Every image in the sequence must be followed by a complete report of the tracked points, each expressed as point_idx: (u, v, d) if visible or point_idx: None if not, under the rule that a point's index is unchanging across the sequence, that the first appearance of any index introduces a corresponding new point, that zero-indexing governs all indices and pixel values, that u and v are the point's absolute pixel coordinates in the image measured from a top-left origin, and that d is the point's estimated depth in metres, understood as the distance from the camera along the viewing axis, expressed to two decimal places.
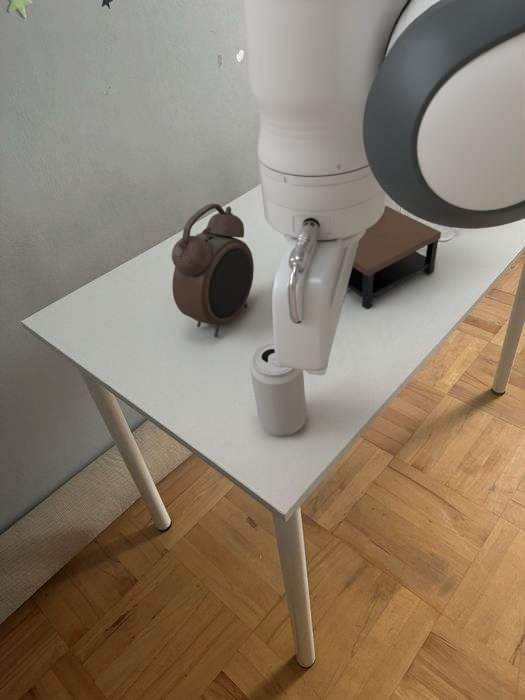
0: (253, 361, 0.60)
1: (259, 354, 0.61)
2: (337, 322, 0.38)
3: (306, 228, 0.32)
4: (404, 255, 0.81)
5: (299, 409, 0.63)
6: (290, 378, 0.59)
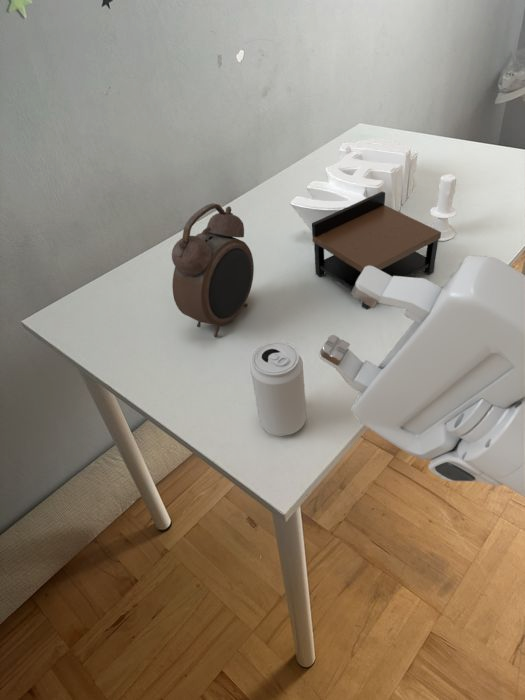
0: (253, 361, 0.60)
1: (259, 354, 0.61)
2: (428, 342, 0.30)
3: None
4: (404, 255, 0.81)
5: (300, 409, 0.63)
6: (290, 378, 0.59)
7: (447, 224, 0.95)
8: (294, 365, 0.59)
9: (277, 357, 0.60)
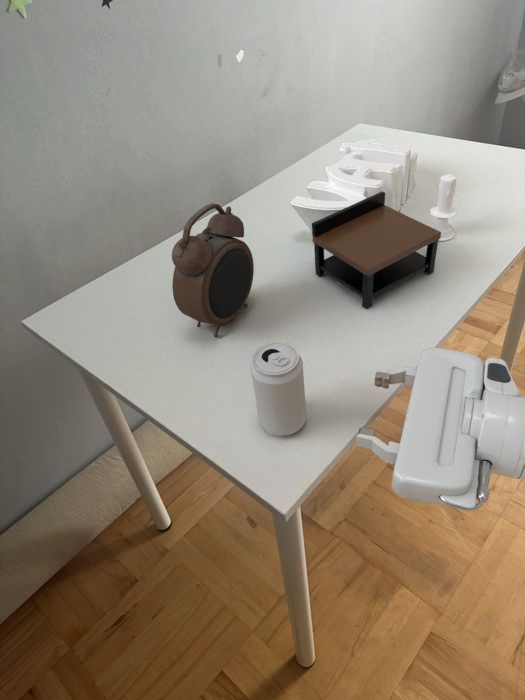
0: (253, 361, 0.60)
1: (259, 354, 0.61)
2: None
3: None
4: (404, 255, 0.81)
5: (300, 409, 0.63)
6: (290, 378, 0.59)
7: (447, 224, 0.95)
8: (294, 365, 0.59)
9: (277, 357, 0.60)
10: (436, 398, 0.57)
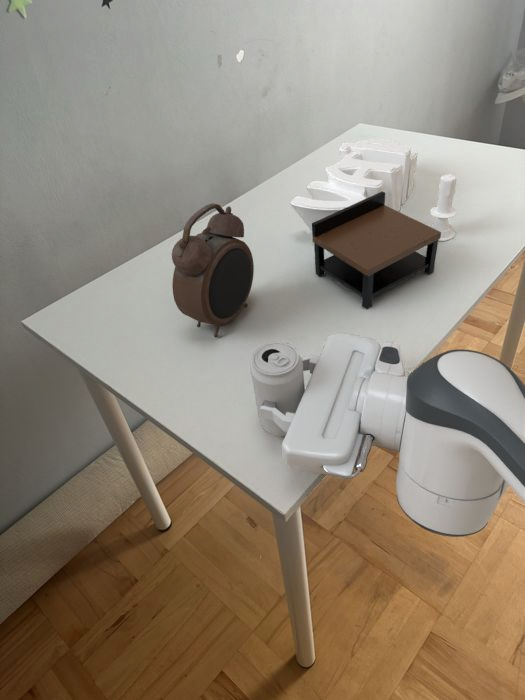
0: (253, 361, 0.60)
1: (259, 354, 0.61)
2: None
3: (371, 445, 0.56)
4: (404, 255, 0.81)
5: None
6: (290, 379, 0.59)
7: (447, 224, 0.95)
8: (294, 365, 0.59)
9: (277, 358, 0.60)
10: (332, 378, 0.61)
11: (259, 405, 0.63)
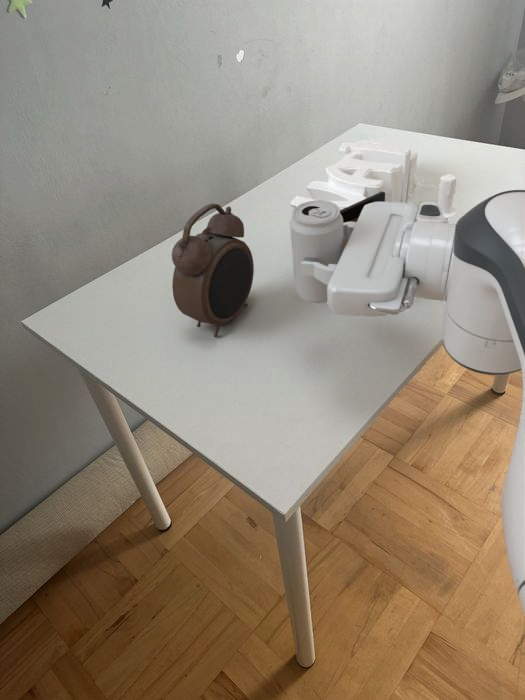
0: (294, 215, 0.60)
1: (299, 210, 0.61)
2: None
3: (416, 287, 0.56)
4: None
5: None
6: (332, 229, 0.59)
7: None
8: (336, 216, 0.59)
9: (318, 211, 0.60)
10: (373, 235, 0.61)
11: (298, 267, 0.63)
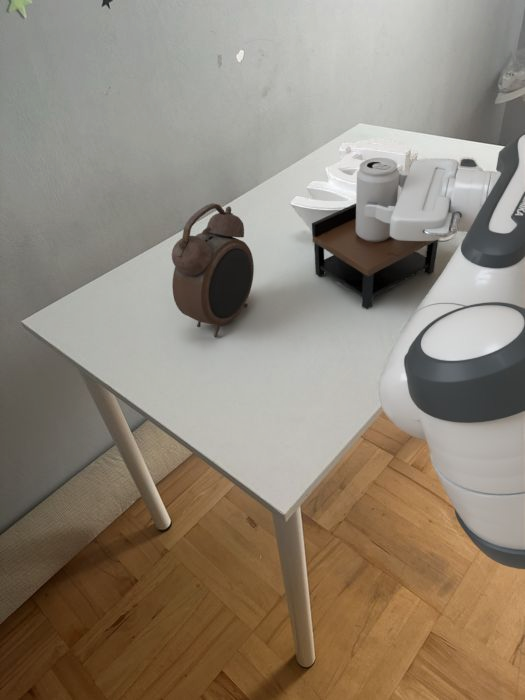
0: (361, 168, 0.77)
1: (364, 165, 0.77)
2: None
3: (459, 219, 0.72)
4: (404, 255, 0.81)
5: None
6: (391, 178, 0.75)
7: None
8: (394, 168, 0.75)
9: (380, 165, 0.77)
10: (422, 182, 0.77)
11: (361, 211, 0.80)
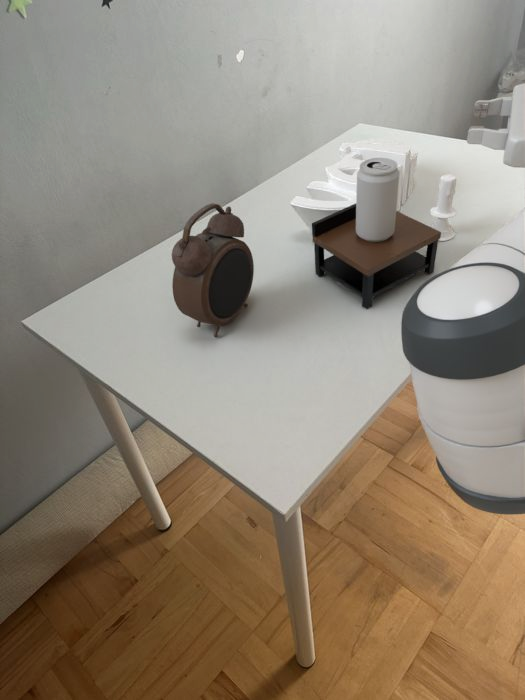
0: (361, 168, 0.77)
1: (364, 165, 0.77)
2: None
3: None
4: (404, 255, 0.81)
5: (393, 214, 0.80)
6: (391, 178, 0.75)
7: (447, 224, 0.95)
8: (395, 168, 0.75)
9: (380, 165, 0.77)
10: None
11: (361, 211, 0.80)
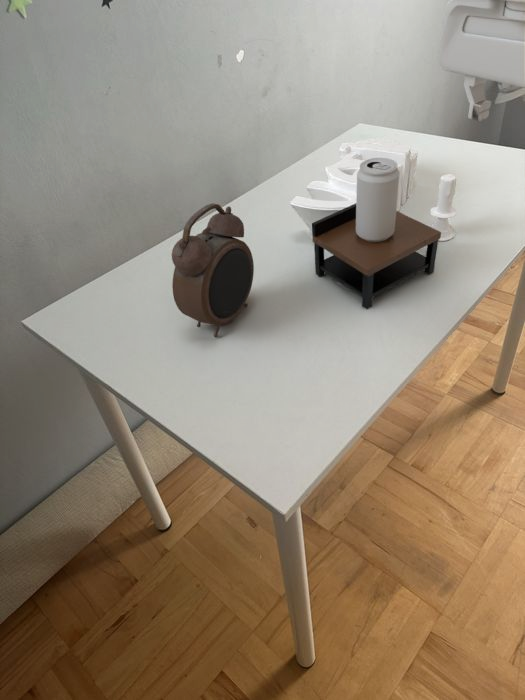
0: (361, 168, 0.76)
1: (364, 165, 0.77)
2: None
3: None
4: (404, 255, 0.81)
5: (393, 214, 0.80)
6: (391, 178, 0.75)
7: (447, 224, 0.95)
8: (395, 168, 0.75)
9: (380, 165, 0.77)
10: (506, 52, 0.49)
11: (361, 211, 0.80)
